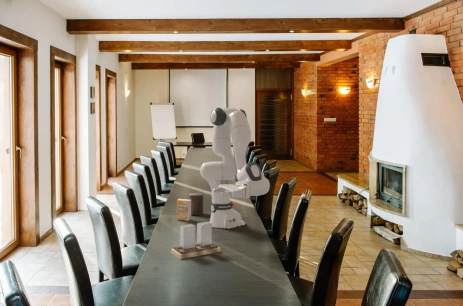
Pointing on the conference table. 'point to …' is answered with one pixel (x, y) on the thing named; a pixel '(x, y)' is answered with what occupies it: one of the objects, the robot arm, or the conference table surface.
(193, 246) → the billet
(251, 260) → the conference table surface
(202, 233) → the aluminium billet
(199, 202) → the pillar candle
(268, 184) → the robot arm
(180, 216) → the supplement box
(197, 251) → the wooden compartment tray
